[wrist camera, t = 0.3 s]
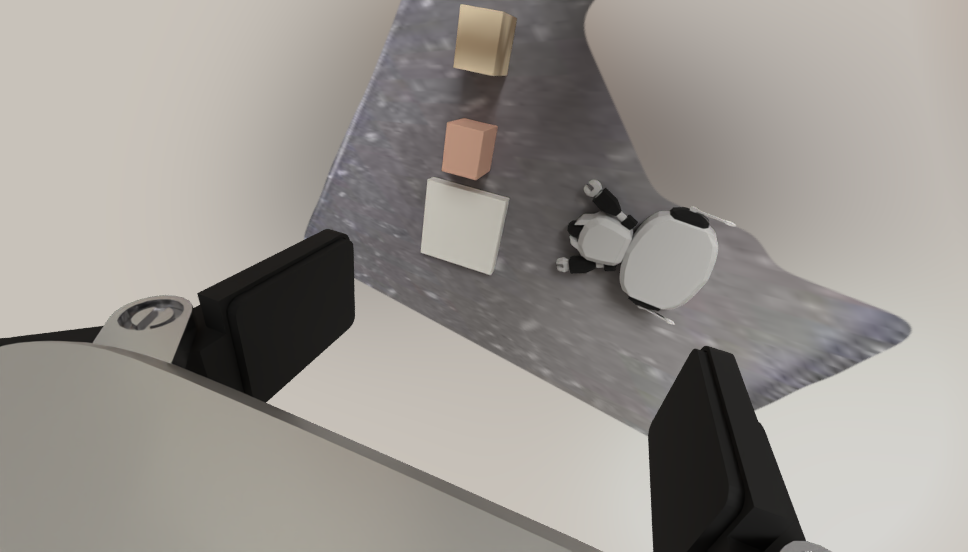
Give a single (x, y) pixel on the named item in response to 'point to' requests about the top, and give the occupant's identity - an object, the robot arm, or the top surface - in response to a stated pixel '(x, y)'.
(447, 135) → the clay brick
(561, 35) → the top surface
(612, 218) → the robot toy
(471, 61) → the beech brick
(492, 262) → the base plate
